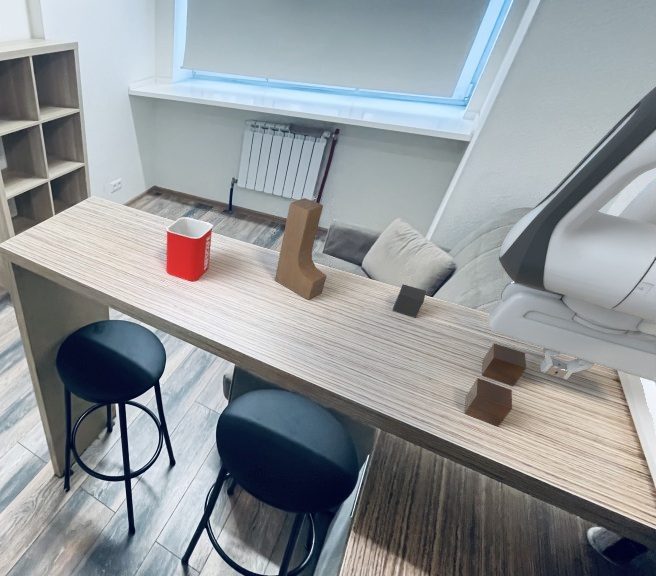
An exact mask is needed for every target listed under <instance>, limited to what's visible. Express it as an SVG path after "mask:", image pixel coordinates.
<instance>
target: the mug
mask: <svg viewBox="0 0 656 576" xmlns="http://www.w3.org/2000/svg"><path fill="white" fill-rule="evenodd" d="M213 228H214V224H213V223H211V222H208V221H207V220H200V219H196V218H193V217H187V216H180V217H178V218H177V219H176V220H174V221H173V222H172V223H170V224H169V225H168V226H166V228H165V232H166V268H165V269H166V273H167V274H168V275H171V276H174V277H177V278H180V279H183V280H185V281H189V282H195V281H196V282H197V280H199V279H200V278H201V277H202V276H203V275H204V274H205V273H206V272H207V271H208V270H209V268H210V257H211V256H210V254H211V243H212V234H213V233H212V232H213Z"/></svg>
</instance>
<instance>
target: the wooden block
mask: <svg viewBox="0 0 656 576" xmlns="http://www.w3.org/2000/svg"><path fill="white" fill-rule="evenodd" d="M323 208H324V205H323V204H321V203H319V202H317V201H313V200H311V199H308V198H305V197H304V198H301V199H297V200H295V201H292V202H290V204H289V207H288V211H287V216H286V221H285V225H284V227H285V228H284V231H283V237H282V241H281V246H280V252H279V257H278V261H277V266H276V271H275V276H274V281H275V282H277V283H278V284H280V285H282V286H284V288H287V289H288V290H291V291H292V292H294V293H295V294H297V295H299V296H301V297H303V298H304V299H306V300H309V301H310V300H312V299H313V298H316V297H317V296H319V295H321V294H322V293H323V291H324V287H325V283H326V281H327V276H328V275H327V274H325V273H324V272H323V271H321V270H320V269H318V268H317V267H316V265H315V262H314V260H313V248H314V244H315V240H316V236H317V232H318V227H319V224H320V219H321V217H322V212H323Z"/></svg>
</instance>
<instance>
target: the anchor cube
mask: <svg viewBox="0 0 656 576" xmlns="http://www.w3.org/2000/svg"><path fill="white" fill-rule="evenodd" d="M426 294H427V290H425V289H421V288H418V287H414V286H409V285H407V284H401V287H400V289H399V292H398V294H397V296H396V299H395V301H394V305H393V308H392V312H395V313H399V314H401V315H405V316H408V317H411V318H414V319H415V318H417V316H418V314H419V312H420V310H421V308H422V306H423V304H424V302H425V298H426Z"/></svg>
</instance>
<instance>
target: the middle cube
mask: <svg viewBox="0 0 656 576" xmlns="http://www.w3.org/2000/svg"><path fill="white" fill-rule="evenodd" d="M483 357H484V358H483V359H482V361H481V362H482V363H481V376H483V377H485V378H488V379H491V380H494V381H496V382H499V383H502V384H505V385H508V386H511V387H514V385H515V384H516V383H517V382H518V380H519V379H520V377H521V376H522V375H523V374H524V372H525V371H526V370H527V361H526V352H523V351H520V350H517V349H514V348H511V347H507V346H504V345H501V344H498V343H496V342H495V343H494V342H493V344H492V345H491V346H490V348H489V350H488V351H487V353H486V354H485V356H483Z"/></svg>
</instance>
